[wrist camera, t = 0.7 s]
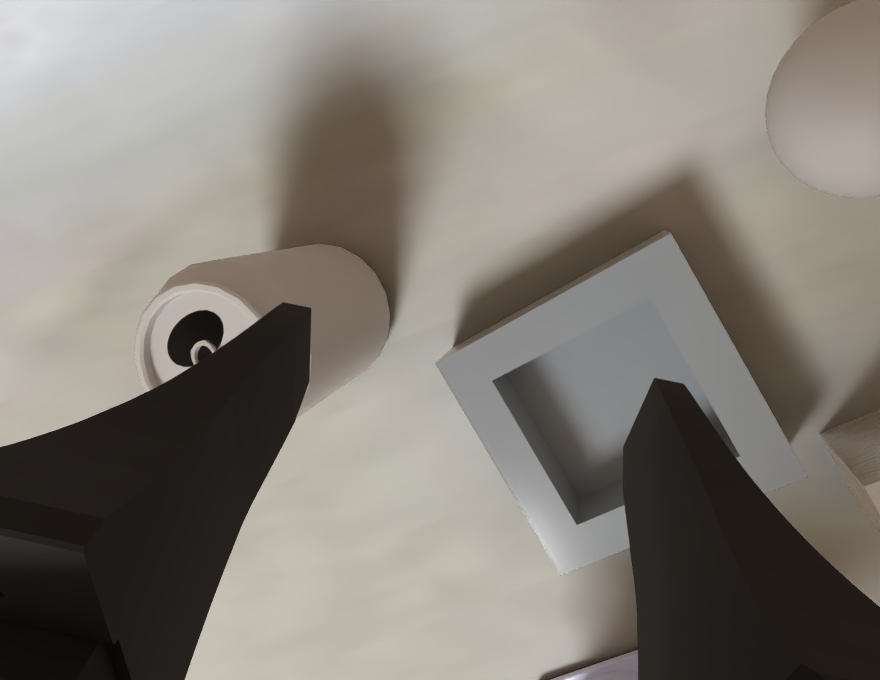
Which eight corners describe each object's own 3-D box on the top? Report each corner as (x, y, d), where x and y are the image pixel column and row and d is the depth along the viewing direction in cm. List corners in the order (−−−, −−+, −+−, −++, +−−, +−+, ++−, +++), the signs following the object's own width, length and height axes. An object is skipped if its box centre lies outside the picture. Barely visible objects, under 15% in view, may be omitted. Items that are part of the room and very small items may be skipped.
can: (339, 213, 35) (205, 222, 24) (423, 328, 35) (330, 391, 24) (243, 295, 37) (81, 338, 26) (322, 402, 37) (195, 491, 26)
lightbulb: (869, 27, 27) (1025, -77, 17) (898, 172, 28) (1063, 158, 18) (714, 79, 29) (768, 14, 19) (745, 214, 30) (814, 224, 20)
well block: (788, 447, 32) (808, 476, 28) (565, 540, 35) (560, 575, 32) (664, 229, 31) (670, 233, 28) (452, 347, 35) (435, 363, 31)
